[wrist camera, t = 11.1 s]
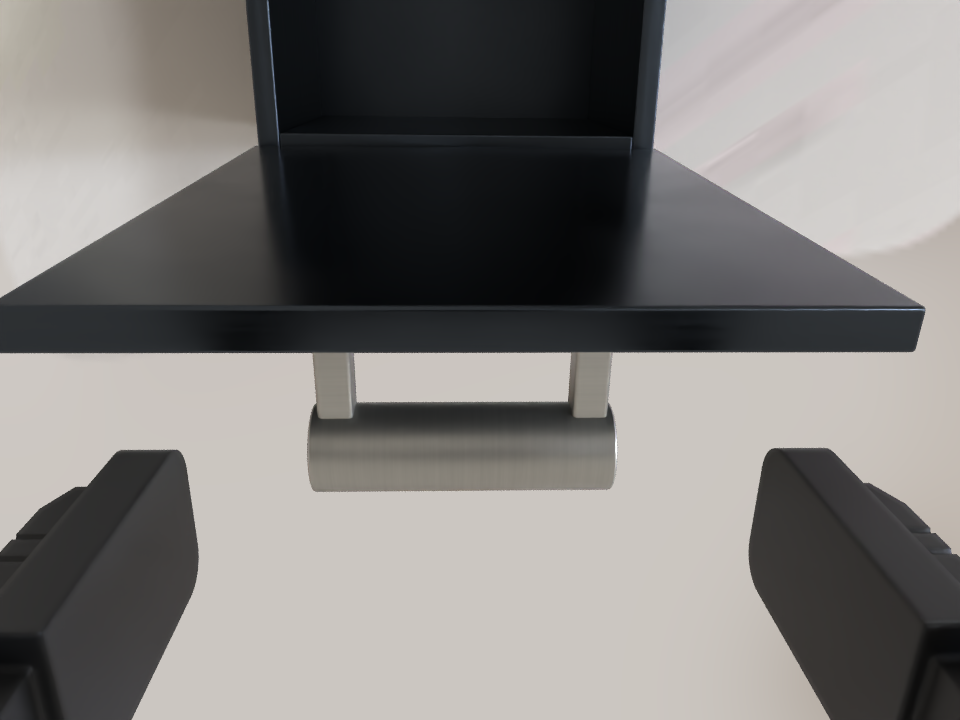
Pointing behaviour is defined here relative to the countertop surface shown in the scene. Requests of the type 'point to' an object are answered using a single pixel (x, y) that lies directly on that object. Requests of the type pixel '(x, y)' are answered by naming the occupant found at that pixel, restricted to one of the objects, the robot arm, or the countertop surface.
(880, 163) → the countertop surface
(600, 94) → the trash bin
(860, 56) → the countertop surface
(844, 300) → the bin lid
